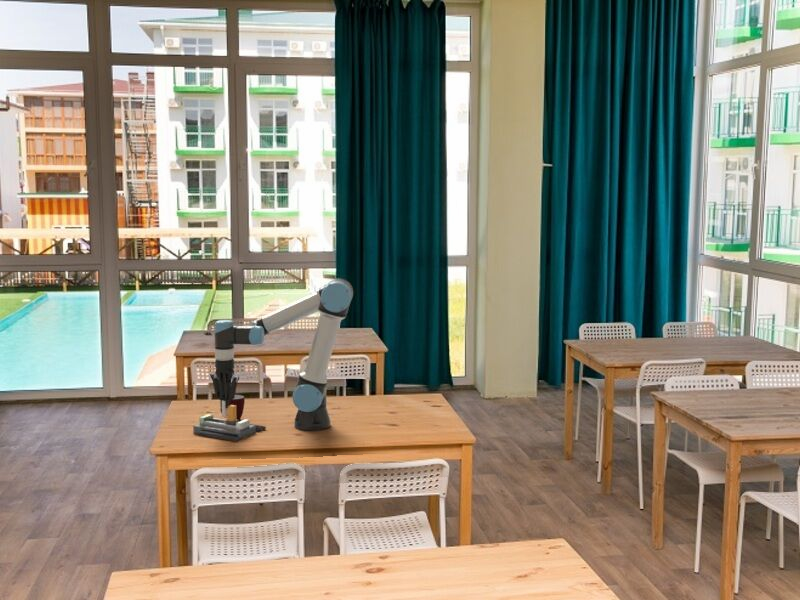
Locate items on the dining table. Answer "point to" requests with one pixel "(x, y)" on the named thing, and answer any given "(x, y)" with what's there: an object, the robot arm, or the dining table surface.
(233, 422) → the lever
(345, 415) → the dining table surface
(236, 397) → the mug
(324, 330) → the robot arm
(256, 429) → the grey rod
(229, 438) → the cord
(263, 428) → the cord
